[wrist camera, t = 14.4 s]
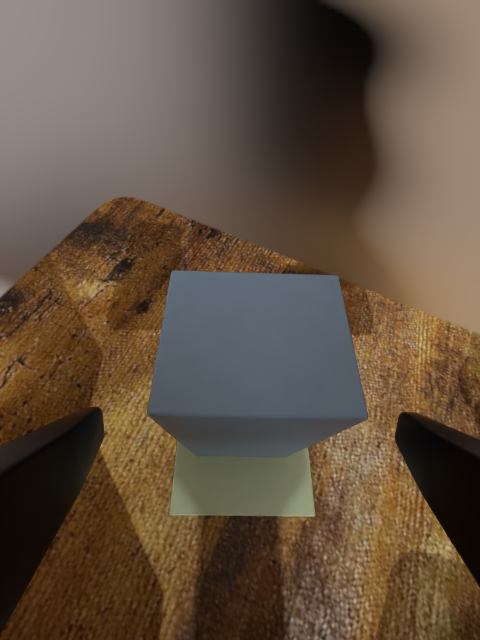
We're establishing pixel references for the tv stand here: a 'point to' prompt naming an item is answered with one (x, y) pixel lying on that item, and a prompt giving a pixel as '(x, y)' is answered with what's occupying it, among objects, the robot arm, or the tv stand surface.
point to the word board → (241, 485)
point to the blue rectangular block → (255, 363)
